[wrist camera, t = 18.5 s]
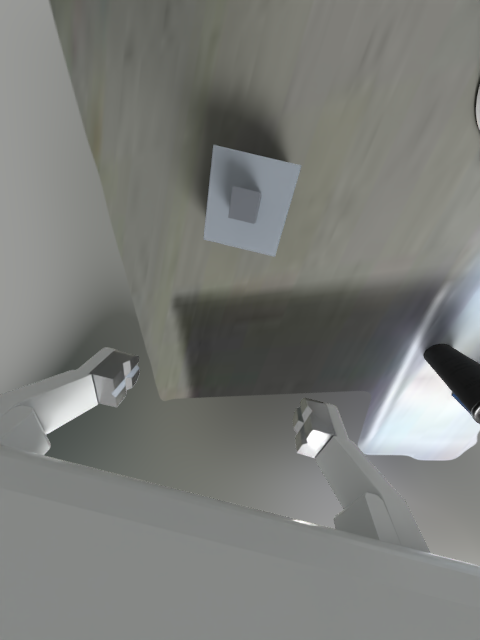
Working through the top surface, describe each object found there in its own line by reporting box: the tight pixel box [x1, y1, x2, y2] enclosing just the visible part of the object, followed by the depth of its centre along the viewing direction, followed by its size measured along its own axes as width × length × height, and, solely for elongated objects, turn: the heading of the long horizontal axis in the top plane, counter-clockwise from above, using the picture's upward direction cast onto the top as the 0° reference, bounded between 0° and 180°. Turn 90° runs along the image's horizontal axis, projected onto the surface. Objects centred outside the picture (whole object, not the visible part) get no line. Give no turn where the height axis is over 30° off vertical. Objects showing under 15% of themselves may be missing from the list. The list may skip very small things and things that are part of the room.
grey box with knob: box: [204, 145, 301, 257], centre depth 27 cm, size 10×10×13 cm
